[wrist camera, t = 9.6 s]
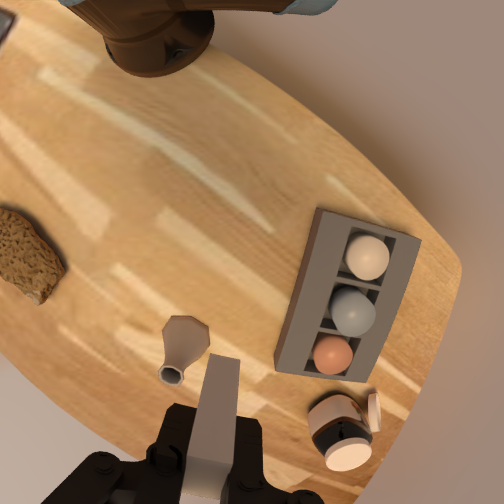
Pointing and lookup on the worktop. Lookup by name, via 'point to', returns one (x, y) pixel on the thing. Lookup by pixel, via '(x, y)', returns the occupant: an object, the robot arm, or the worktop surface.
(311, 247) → the panel
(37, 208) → the worktop surface
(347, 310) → the button slate
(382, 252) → the button ivory
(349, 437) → the spread jar
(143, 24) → the robot arm
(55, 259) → the sponge
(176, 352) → the flask
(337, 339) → the button terracotta
